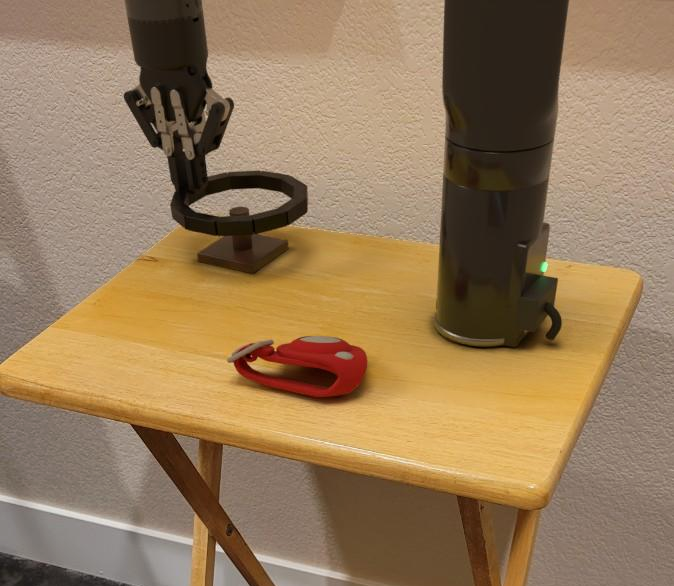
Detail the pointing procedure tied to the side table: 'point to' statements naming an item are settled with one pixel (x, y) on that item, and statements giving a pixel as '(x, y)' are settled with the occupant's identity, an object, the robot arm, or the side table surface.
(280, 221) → the ring
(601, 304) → the side table surface
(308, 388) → the tracker holder
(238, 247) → the ring holder
